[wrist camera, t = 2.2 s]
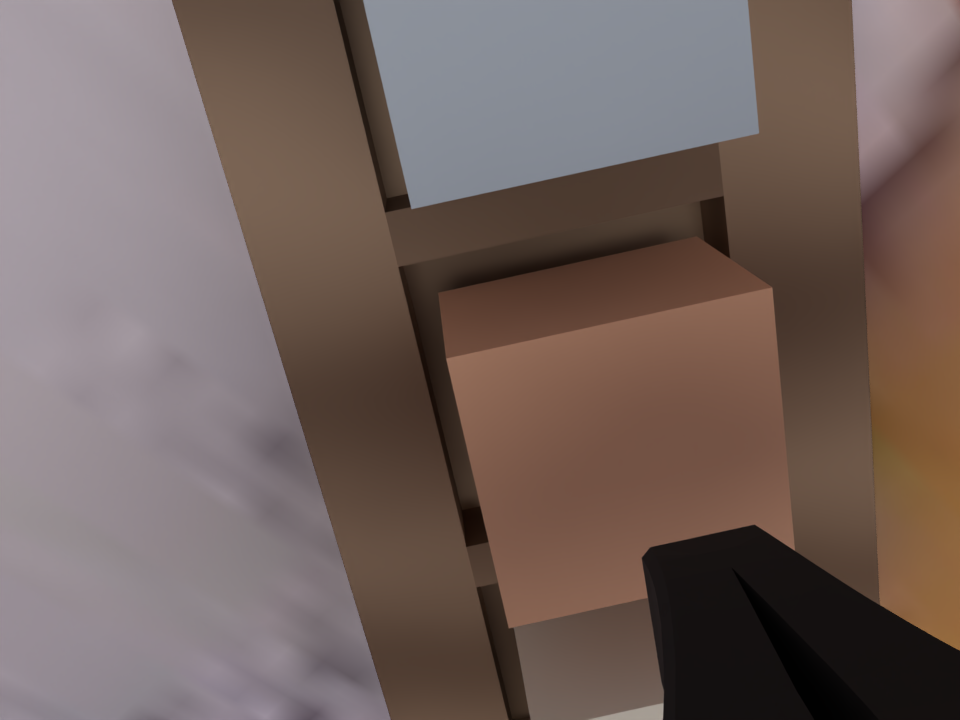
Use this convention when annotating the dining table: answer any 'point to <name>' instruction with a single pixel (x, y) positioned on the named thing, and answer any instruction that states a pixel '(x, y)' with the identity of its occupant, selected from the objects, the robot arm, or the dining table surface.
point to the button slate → (556, 86)
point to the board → (506, 253)
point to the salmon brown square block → (616, 417)
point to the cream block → (592, 665)
